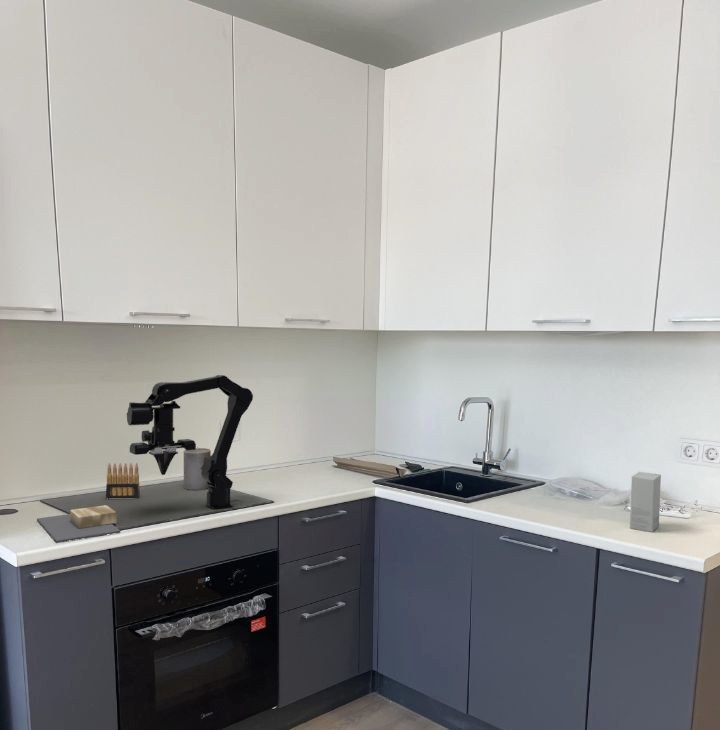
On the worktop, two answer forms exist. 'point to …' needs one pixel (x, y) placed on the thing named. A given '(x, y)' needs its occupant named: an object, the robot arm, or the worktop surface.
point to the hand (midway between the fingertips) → (163, 474)
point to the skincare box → (645, 501)
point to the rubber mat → (72, 529)
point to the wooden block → (92, 516)
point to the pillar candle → (195, 468)
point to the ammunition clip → (122, 482)
